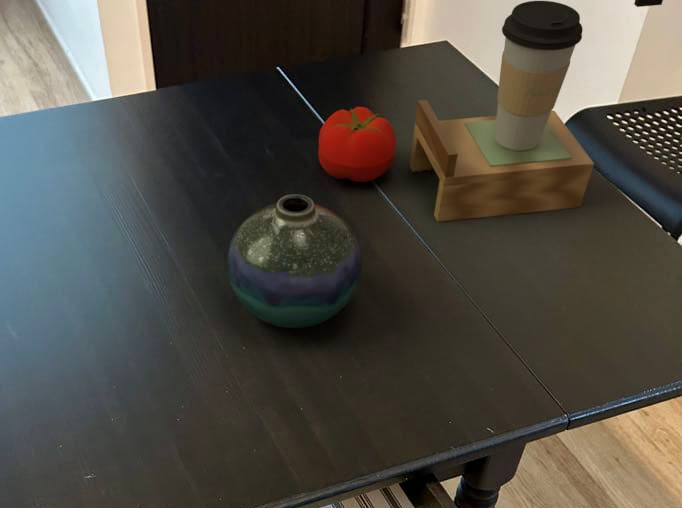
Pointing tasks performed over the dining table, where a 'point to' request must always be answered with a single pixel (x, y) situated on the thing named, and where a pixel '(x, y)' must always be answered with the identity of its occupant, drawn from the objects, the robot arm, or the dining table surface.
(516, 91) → the coffee cup
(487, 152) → the wooden toy bed
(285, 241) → the vase
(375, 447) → the dining table surface
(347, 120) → the tomato
